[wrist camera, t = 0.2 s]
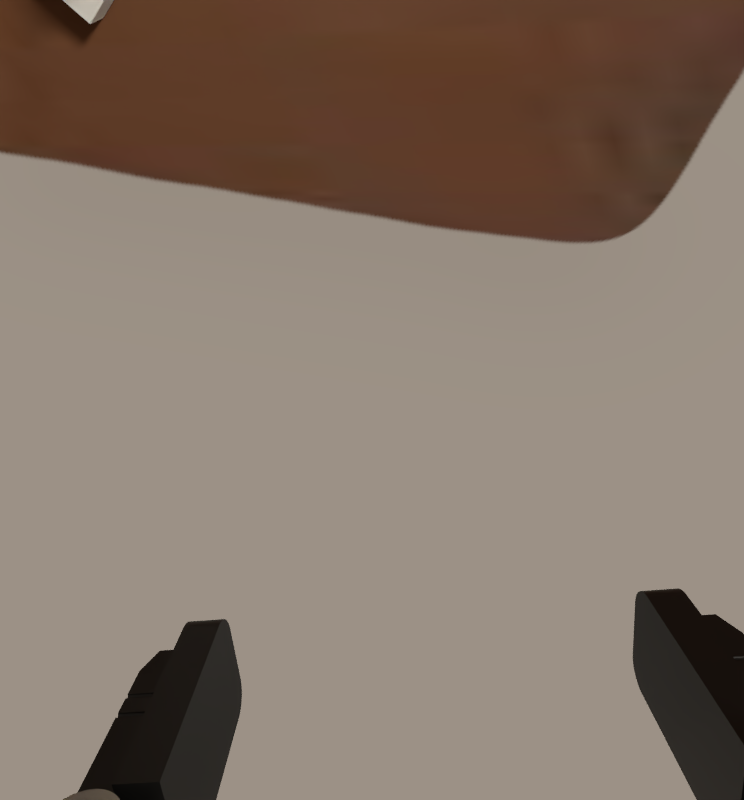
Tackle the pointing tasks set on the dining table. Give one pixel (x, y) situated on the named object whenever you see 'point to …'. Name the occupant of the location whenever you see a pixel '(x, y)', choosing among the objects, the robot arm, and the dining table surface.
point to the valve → (90, 8)
